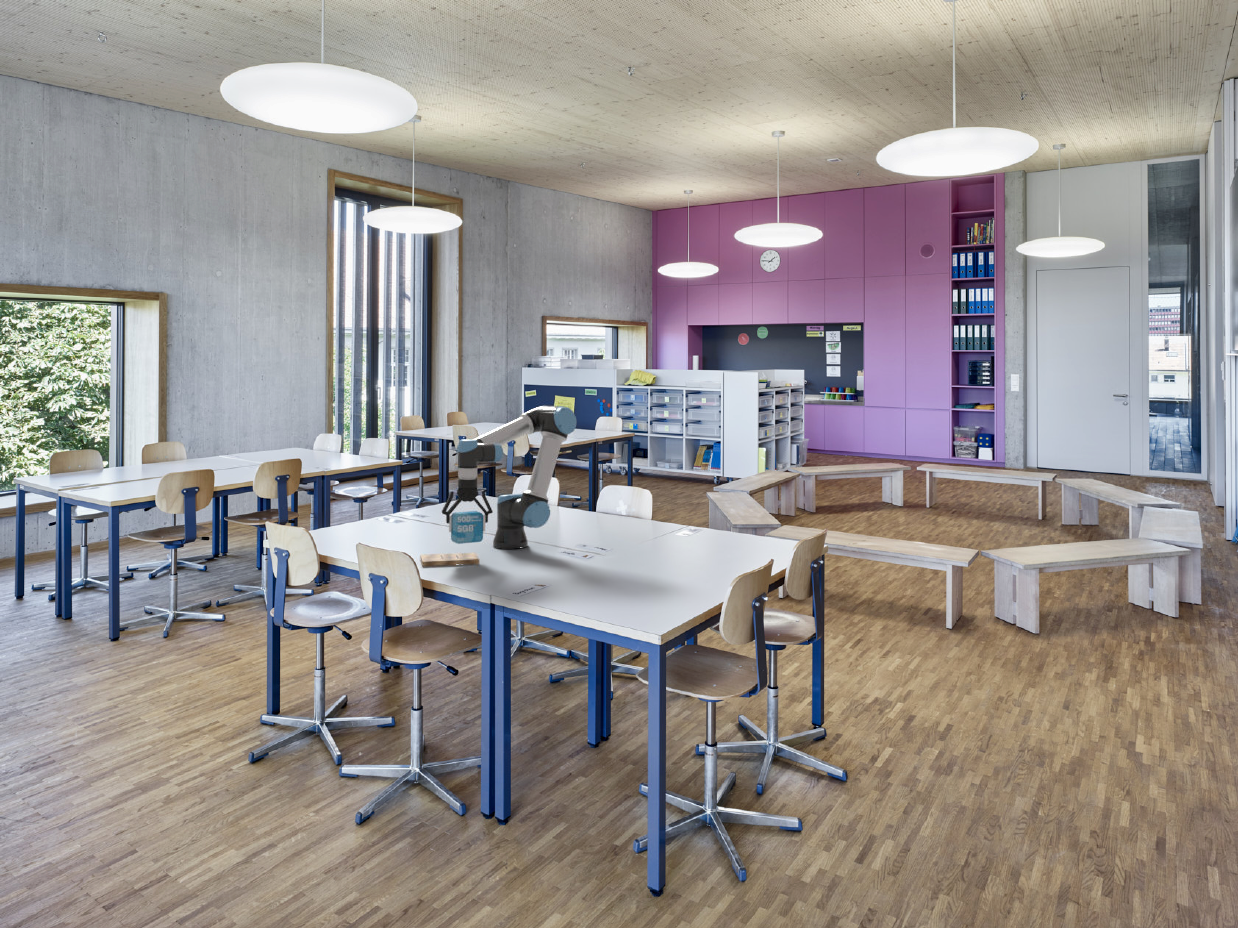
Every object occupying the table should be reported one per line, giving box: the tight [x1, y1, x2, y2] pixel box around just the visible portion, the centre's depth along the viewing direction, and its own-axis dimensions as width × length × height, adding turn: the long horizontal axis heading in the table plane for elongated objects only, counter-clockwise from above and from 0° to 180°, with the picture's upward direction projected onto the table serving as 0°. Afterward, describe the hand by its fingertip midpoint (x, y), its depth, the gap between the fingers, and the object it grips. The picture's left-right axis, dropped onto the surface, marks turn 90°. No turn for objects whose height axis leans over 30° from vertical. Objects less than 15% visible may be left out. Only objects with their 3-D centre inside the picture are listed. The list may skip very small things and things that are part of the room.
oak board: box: [419, 552, 480, 567], centre depth 333 cm, size 22×13×2 cm, turn 107°
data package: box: [450, 510, 484, 545], centre depth 334 cm, size 12×4×12 cm, turn 124°
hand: (467, 531), depth 334 cm, fingers closed on data package, 13 cm apart
